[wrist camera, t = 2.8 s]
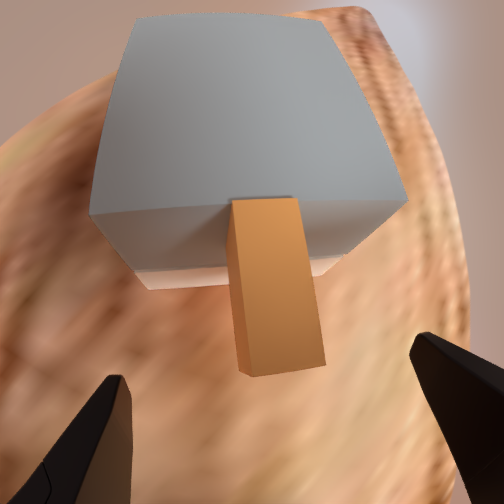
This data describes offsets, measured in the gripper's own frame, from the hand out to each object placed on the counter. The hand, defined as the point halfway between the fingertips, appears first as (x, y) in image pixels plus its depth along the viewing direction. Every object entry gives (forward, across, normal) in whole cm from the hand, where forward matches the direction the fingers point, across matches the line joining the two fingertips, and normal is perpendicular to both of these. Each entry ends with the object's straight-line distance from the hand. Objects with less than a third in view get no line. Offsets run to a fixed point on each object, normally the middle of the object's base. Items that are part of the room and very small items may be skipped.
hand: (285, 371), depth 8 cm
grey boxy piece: (+10, 0, -2) cm, 11 cm away
